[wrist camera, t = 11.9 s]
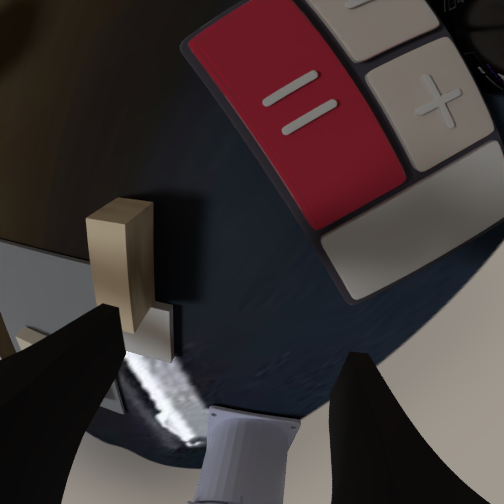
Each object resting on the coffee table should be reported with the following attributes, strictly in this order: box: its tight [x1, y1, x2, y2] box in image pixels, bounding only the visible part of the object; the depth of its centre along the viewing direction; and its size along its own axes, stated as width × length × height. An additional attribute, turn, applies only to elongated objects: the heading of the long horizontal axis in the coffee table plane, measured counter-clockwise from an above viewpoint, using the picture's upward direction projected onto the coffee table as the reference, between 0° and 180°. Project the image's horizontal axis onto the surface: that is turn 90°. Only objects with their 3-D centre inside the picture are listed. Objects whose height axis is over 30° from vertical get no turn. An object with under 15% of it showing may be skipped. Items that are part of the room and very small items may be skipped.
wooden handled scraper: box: [86, 197, 174, 363], centre depth 19 cm, size 12×5×4 cm, turn 172°
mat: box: [0, 239, 125, 414], centre depth 24 cm, size 18×14×1 cm
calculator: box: [180, 0, 504, 305], centre depth 13 cm, size 11×4×15 cm
